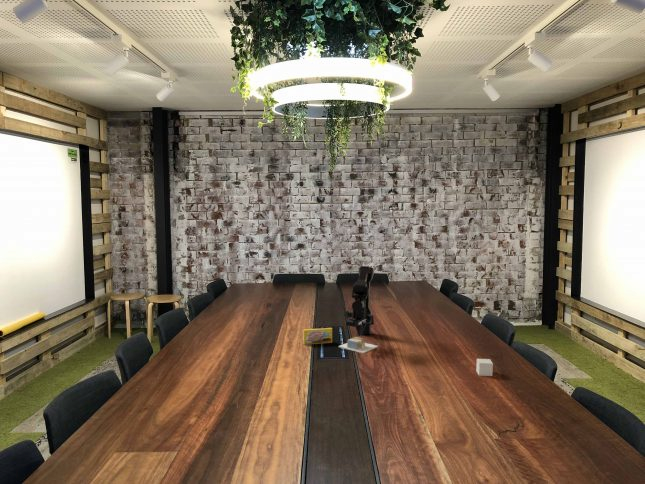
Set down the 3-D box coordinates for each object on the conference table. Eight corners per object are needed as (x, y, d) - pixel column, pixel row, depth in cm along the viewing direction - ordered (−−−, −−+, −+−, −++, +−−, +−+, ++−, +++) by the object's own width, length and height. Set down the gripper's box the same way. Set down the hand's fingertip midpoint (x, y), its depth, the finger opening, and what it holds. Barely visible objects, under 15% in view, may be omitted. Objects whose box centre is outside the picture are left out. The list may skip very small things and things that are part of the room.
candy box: (303, 345, 272) (303, 330, 271) (303, 344, 274) (303, 329, 273) (332, 343, 276) (332, 328, 275) (331, 341, 278) (331, 327, 277)
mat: (353, 341, 279) (353, 340, 279) (377, 347, 269) (377, 345, 269) (338, 347, 268) (338, 346, 268) (363, 353, 258) (363, 352, 258)
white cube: (476, 371, 234) (476, 358, 234) (489, 371, 234) (489, 359, 233) (478, 375, 228) (479, 362, 228) (492, 376, 228) (492, 363, 227)
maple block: (356, 336, 272) (347, 340, 265) (365, 338, 268) (356, 342, 262) (355, 343, 272) (347, 347, 266) (365, 346, 268) (356, 349, 262)
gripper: (357, 302, 279) (357, 329, 281) (337, 308, 265) (337, 336, 266) (374, 305, 272) (373, 333, 274) (354, 311, 258) (354, 340, 259)
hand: (359, 335), depth 269 cm, fingers closed
